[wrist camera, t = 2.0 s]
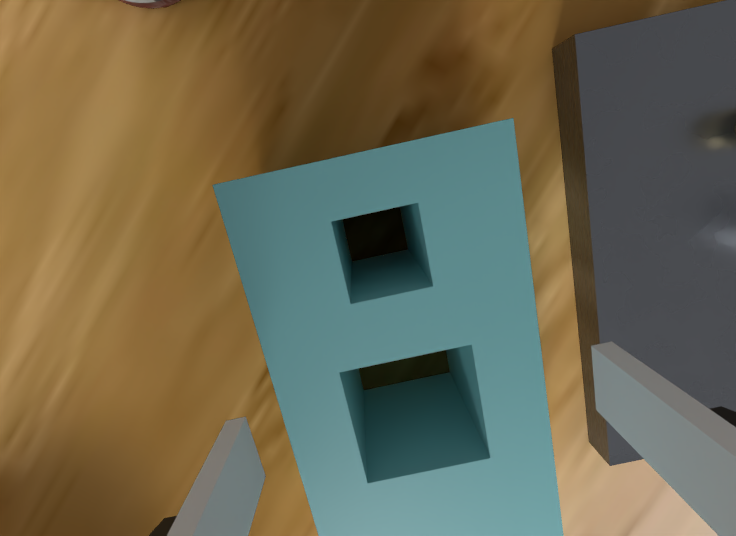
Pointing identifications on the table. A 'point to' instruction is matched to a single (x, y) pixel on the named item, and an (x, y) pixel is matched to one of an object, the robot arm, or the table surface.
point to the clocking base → (653, 200)
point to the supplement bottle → (150, 3)
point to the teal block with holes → (404, 337)
